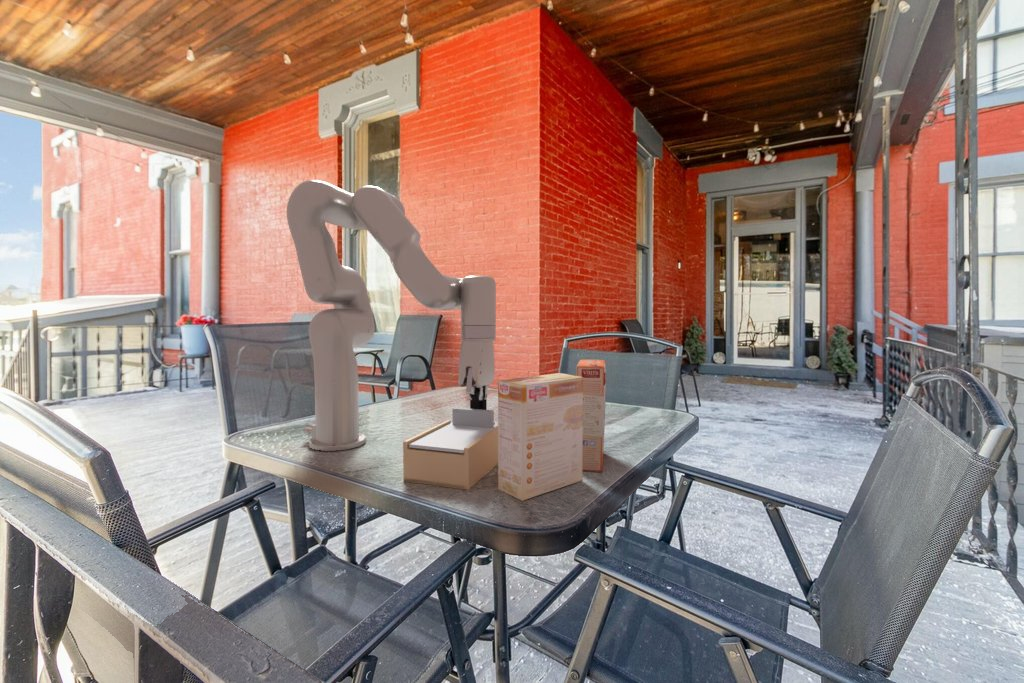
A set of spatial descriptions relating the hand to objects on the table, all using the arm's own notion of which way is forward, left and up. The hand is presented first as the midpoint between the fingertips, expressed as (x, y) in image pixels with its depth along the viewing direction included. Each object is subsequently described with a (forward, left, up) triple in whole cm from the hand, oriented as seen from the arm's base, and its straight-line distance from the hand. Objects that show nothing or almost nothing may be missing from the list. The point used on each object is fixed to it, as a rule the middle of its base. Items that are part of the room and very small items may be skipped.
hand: (478, 417), depth 102 cm
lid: (0, -11, -2) cm, 11 cm away
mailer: (0, -11, -8) cm, 14 cm away
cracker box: (+24, +3, -8) cm, 26 cm away
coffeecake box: (+18, -14, -8) cm, 24 cm away
